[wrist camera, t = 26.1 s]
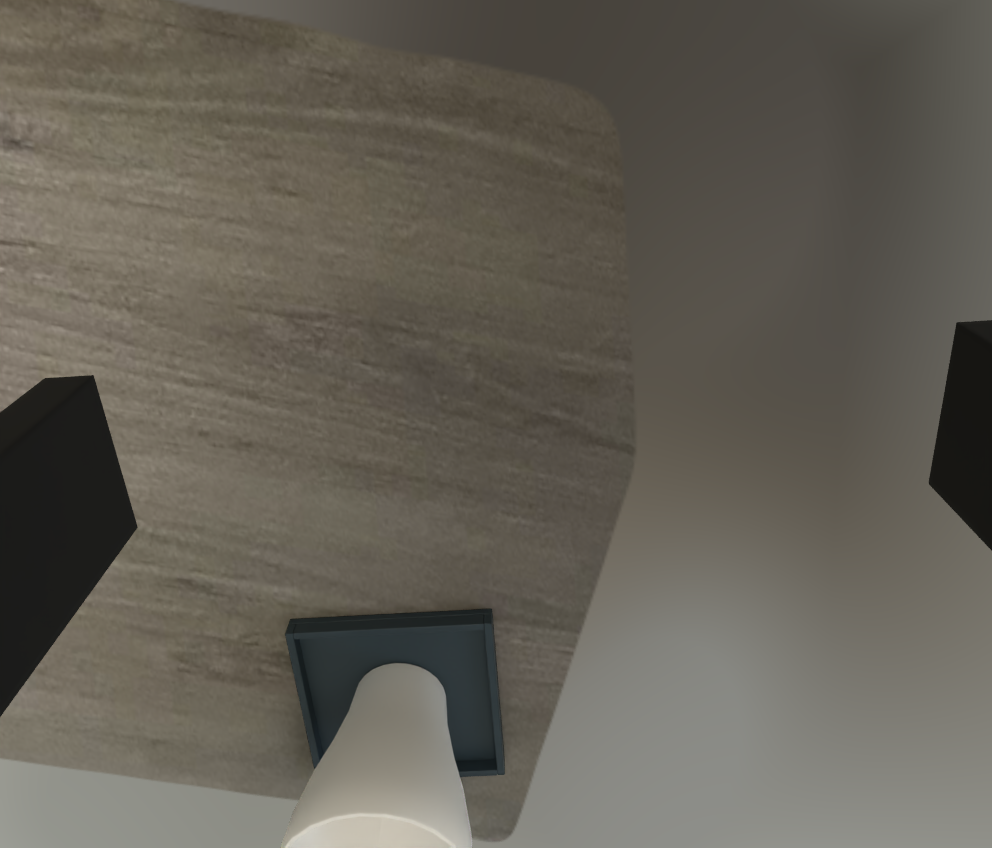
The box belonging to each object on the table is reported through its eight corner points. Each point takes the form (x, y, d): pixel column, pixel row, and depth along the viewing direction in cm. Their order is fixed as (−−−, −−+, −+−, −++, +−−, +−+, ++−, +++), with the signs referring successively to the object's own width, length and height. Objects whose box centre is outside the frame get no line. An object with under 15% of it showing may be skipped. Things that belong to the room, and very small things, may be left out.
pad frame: (491, 608, 54) (491, 623, 52) (504, 758, 59) (504, 775, 58) (290, 618, 54) (284, 634, 53) (321, 766, 60) (317, 783, 58)
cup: (492, 647, 54) (490, 827, 42) (465, 764, 59) (456, 957, 47) (330, 623, 54) (280, 799, 41) (315, 743, 58) (266, 935, 46)
